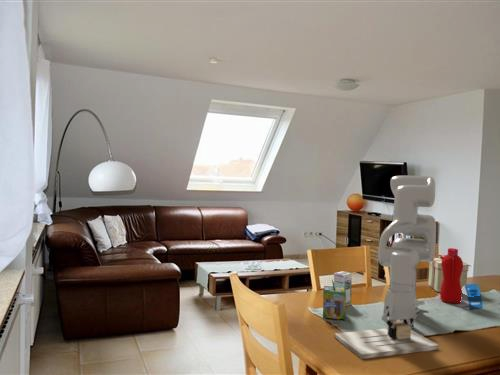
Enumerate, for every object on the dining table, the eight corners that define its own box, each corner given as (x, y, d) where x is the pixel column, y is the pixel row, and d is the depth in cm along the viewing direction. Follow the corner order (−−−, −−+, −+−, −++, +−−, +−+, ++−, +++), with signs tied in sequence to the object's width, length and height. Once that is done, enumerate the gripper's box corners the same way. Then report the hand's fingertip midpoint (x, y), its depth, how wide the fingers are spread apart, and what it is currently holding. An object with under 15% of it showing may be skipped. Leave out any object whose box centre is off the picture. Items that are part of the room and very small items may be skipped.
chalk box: (345, 320, 173) (346, 284, 172) (322, 318, 175) (323, 282, 174) (345, 313, 182) (346, 278, 181) (323, 311, 184) (324, 277, 183)
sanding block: (387, 334, 155) (387, 320, 155) (398, 333, 157) (398, 319, 156) (399, 341, 149) (399, 327, 148) (410, 340, 150) (410, 326, 150)
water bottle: (440, 303, 199) (442, 249, 198) (439, 297, 209) (441, 246, 208) (462, 306, 195) (465, 251, 194) (460, 299, 205) (462, 247, 204)
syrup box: (343, 307, 190) (344, 275, 189) (332, 304, 194) (333, 272, 194) (351, 304, 194) (352, 273, 193) (340, 301, 198) (341, 270, 198)
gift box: (474, 294, 215) (476, 260, 214) (438, 293, 215) (439, 259, 214) (458, 285, 232) (460, 253, 231) (424, 284, 232) (425, 252, 231)
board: (404, 330, 164) (405, 326, 164) (438, 349, 147) (438, 345, 147) (334, 337, 155) (334, 333, 155) (361, 358, 138) (361, 354, 138)
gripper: (413, 282, 158) (412, 331, 159) (373, 285, 153) (372, 335, 154) (427, 288, 151) (425, 339, 151) (386, 291, 146) (384, 344, 147)
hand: (398, 336), depth 153 cm, fingers closed on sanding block, 4 cm apart
